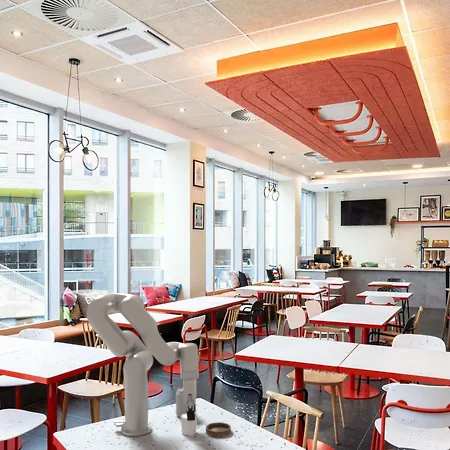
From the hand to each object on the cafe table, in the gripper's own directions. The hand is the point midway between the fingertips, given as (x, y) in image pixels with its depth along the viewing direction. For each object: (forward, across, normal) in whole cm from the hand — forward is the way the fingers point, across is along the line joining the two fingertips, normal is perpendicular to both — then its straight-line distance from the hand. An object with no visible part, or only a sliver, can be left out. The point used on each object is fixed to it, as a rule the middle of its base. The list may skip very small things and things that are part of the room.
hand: (191, 416), depth 200 cm
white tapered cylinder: (+7, 0, -1) cm, 7 cm away
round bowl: (+7, 0, +11) cm, 13 cm away
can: (+7, -20, -4) cm, 22 cm away
